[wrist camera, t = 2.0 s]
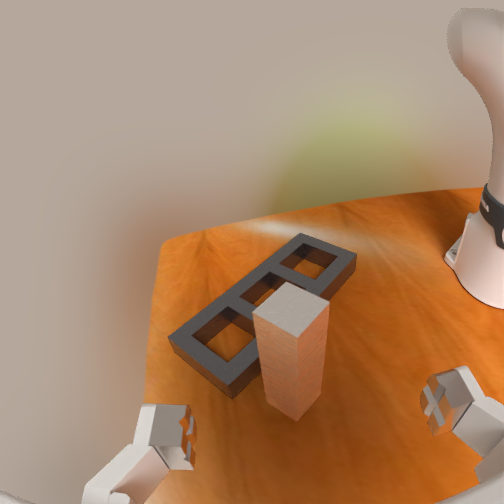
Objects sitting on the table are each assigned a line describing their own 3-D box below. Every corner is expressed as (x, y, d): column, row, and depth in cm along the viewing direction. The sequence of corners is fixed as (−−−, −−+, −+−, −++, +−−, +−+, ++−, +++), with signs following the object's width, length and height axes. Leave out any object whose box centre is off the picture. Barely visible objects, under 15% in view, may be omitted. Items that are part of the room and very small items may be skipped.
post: (290, 376, 33) (286, 281, 25) (320, 394, 31) (330, 302, 23) (266, 401, 31) (252, 312, 23) (296, 421, 29) (297, 337, 21)
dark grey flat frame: (300, 248, 52) (300, 232, 50) (355, 270, 46) (356, 253, 45) (174, 352, 38) (167, 337, 36) (232, 399, 32) (227, 385, 30)
